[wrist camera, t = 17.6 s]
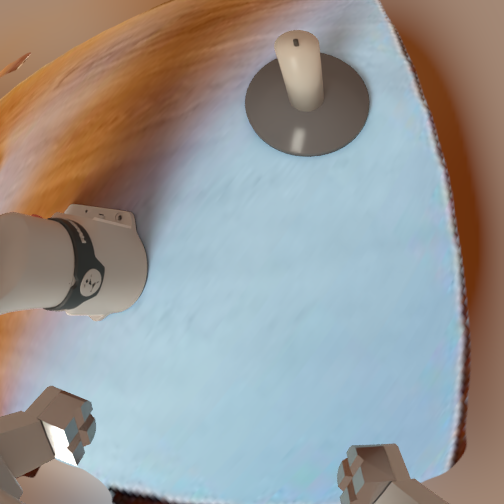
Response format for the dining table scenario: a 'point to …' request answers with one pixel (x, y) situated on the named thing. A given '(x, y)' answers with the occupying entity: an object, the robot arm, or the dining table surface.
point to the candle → (301, 69)
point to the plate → (313, 122)
